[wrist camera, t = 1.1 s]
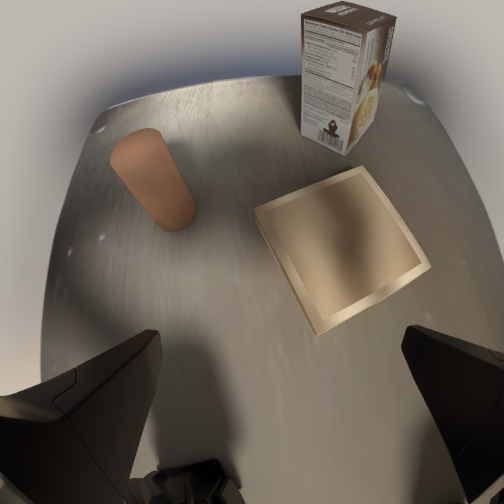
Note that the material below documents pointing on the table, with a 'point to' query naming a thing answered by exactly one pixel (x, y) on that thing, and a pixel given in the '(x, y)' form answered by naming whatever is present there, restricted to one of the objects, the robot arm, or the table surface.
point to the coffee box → (342, 71)
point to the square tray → (339, 247)
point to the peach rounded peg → (154, 178)
